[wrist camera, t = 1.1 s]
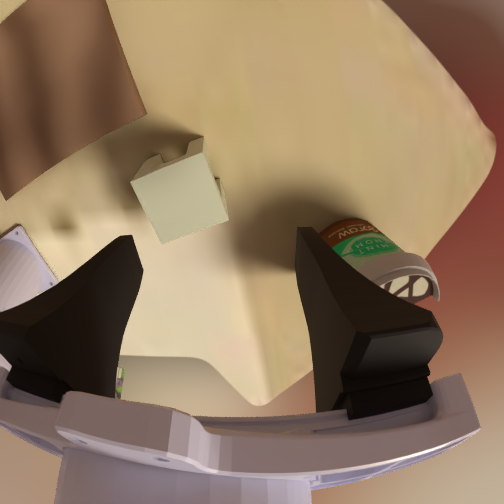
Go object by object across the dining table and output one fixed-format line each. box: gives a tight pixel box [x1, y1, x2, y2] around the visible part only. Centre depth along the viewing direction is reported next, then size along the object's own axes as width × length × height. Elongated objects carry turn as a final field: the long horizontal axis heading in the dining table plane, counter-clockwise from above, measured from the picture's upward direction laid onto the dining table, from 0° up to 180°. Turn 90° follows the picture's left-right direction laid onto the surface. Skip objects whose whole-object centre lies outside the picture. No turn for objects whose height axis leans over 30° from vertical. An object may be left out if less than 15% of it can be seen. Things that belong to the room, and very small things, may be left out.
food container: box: [319, 218, 440, 304], centre depth 24 cm, size 12×6×10 cm, turn 108°
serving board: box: [0, 0, 147, 201], centre depth 14 cm, size 16×16×2 cm
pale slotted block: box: [130, 137, 229, 244], centre depth 20 cm, size 5×5×6 cm
